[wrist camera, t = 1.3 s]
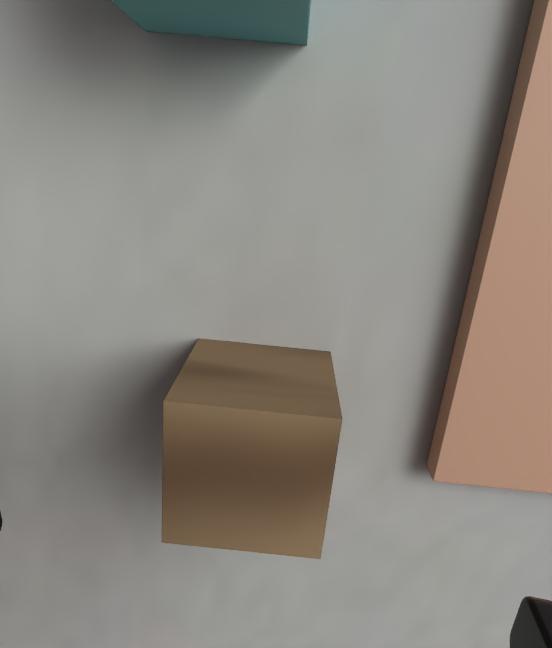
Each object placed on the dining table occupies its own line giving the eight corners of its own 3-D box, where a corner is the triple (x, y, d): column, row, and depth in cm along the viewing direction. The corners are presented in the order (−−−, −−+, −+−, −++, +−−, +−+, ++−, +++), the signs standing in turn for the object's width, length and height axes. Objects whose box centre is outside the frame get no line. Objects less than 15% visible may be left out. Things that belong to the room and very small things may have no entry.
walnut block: (314, 462, 19) (320, 558, 15) (194, 450, 19) (161, 542, 15) (330, 350, 18) (342, 419, 13) (199, 337, 18) (163, 401, 13)
